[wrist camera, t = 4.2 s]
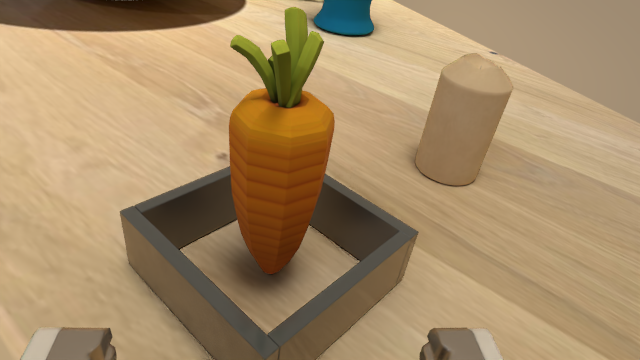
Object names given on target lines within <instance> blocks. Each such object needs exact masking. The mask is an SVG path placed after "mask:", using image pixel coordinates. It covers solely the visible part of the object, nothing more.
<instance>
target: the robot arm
mask: <svg viewBox="0 0 640 360" xmlns="http://www.w3.org/2000/svg"><path fill="white" fill-rule="evenodd" d="M427 337H428V340H429V342H428V343H427V344H425V345H424V346H423V347H422V350H421V352H420V360H504V359H503V357H502V355H501V353H500V351H499V349H498V347H497V345H496V343H495V341H494V339H493V337H492V335H491V333H490V331H489V330H488V329H485V328H433V329H432V330H430V332H429V334H428V336H427ZM111 339H112V334H111V330H110V328H65V327H40V328H39V329H38V330H37V331H36V332H35V333H34V334H33V336H32V338H31V340H30V342H29V344H28V345H27V347H26V349H25V351H24V353H23V355H22V357H21V359H20V360H116V350H115V347H114V346H112V345H111V344H110V342H111Z"/></svg>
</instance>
